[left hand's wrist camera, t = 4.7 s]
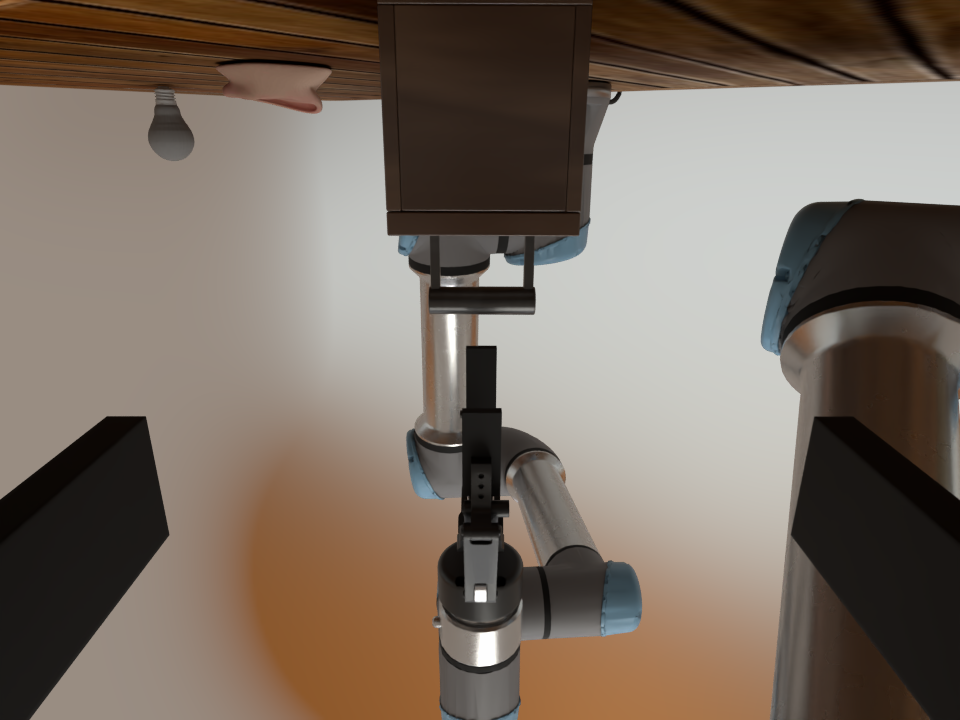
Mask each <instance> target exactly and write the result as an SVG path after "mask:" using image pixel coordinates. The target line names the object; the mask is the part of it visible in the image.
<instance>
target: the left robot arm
mask: <svg viewBox="0 0 960 720" xmlns="http://www.w3.org/2000/svg"><path fill="white" fill-rule="evenodd" d="M761 344H762V346H763V348H764V349H766V350H767V351H770V352H773V353H774V354H776V355H780V361H781V368H782V372H783V374H784V376H785V378H786V380H787V381H788V382H789V383H790V385H791V386H792V387H793V388H794V389H795V390H796V391H798V392H799V393H800V394H801V396H800V406H799V417H798V428H797V438H796V449H795V459H794V470H793V481H792V491H791V502H790V512H789V523H788V534H787V544H786V555H785V566H784V576H783V587H782V598H781V608H780V619H779V629H778V640H777V650H776V661H775V672H774V682H773V693H772V703H771V714H770V720H960V414H959V401H958V400H959V399H960V206H958V205H940V204H921V203H903V202H884V201H866V200H863V199H855V200H851V201H849V202H816V203H811V204H809V205H807V206H805V207H804V208H802V209H801V210H800V211H799V212H798V213H797V214H796V215H795V217H794V218H793V220H792V222H791V224H790V227H789V229H788V232H787V235H786V237H785V240H784V243H783V247H782V250H781V253H780V256H779V260H778V264H777V267H776V276H775V277H774V280H773V284H772V287H771V290H770V293H769V297H768V301H767V306H766V310H765V315H764V320H763V326H762V333H761ZM168 536H169V530H168V525H167V520H166V515H165V510H164V505H163V500H162V495H161V490H160V485H159V480H158V475H157V470H156V465H155V460H154V455H153V450H152V445H151V440H150V435H149V430H148V425H147V420H146V417H145V416H107V417H106V418H104V419H103V420H102V421H100V422H99V423H98V424H97V425H95V426H94V427H93V428H91V429H90V430H89V431H88V432H86V433H85V434H84V435H82V436H81V437H80V438H79V439H77V440H76V441H75V442H73V443H72V444H71V445H70V446H68V447H67V448H66V449H64V450H63V451H62V452H61V453H59V454H58V455H57V456H56V457H54V458H53V459H52V460H50V461H49V462H48V463H47V464H45V465H44V466H43V467H41V468H40V469H39V470H38V471H36V472H35V473H34V474H32V475H31V476H30V477H29V478H27V479H26V480H25V481H24V482H22V483H21V484H20V485H18V486H17V487H16V488H15V489H13V490H12V491H11V492H9V493H8V494H7V495H6V496H4V497H3V498H2V499H0V720H30V718H31V717H32V716H33V714H34V713H35V712H36V710H37V709H38V708H39V706H40V705H41V704H42V702H43V701H44V700H45V698H46V697H47V696H48V694H49V693H50V692H51V690H52V689H53V688H54V687H55V685H56V684H57V683H58V681H59V680H60V679H61V677H62V676H63V675H64V673H65V672H66V671H67V669H68V668H69V667H70V665H71V664H72V663H73V661H74V660H75V659H76V658H77V656H78V655H79V653H80V652H81V651H82V650H83V648H84V647H85V646H86V644H87V643H88V642H89V640H90V639H91V638H92V636H93V635H94V634H95V632H96V631H97V630H98V628H99V627H100V626H101V625H102V623H103V622H104V621H105V619H106V618H107V617H108V615H109V614H110V613H111V611H112V610H113V609H114V607H115V606H116V605H117V603H118V602H119V601H120V599H121V598H122V597H123V595H124V594H125V593H126V592H127V590H128V589H129V588H130V586H131V585H132V584H133V582H134V581H135V580H136V578H137V577H138V576H139V574H140V573H141V572H142V570H143V569H144V568H145V566H146V565H147V564H148V562H149V561H150V560H151V559H152V557H153V556H154V554H155V553H156V552H157V551H158V549H159V548H160V547H161V545H162V544H163V543H164V541H165V540H166V539H167V537H168Z"/></svg>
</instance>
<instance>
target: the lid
mask: <svg viewBox="0 0 960 720" xmlns="http://www.w3.org/2000/svg"><path fill="white" fill-rule="evenodd" d="M580 217H581V214H580V213H579V212H567V211H564V212H537V211H402V210H401V211H388V212H387V233H388V235H389V236H430V274H431V286H430V287H429V293H428V306H429V314H501V315H504V314H505V315H534V313H535V303H536V294H535V287H533V278H534V247H535V236H579V235H580ZM440 236H525V242H524V279H523V287H445V286H441V276H440Z"/></svg>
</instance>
